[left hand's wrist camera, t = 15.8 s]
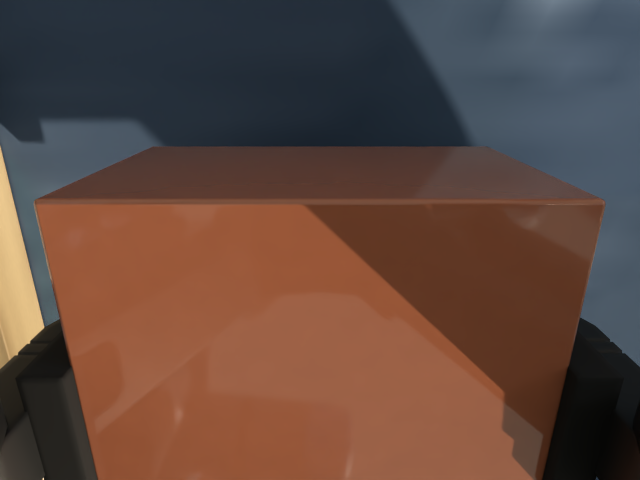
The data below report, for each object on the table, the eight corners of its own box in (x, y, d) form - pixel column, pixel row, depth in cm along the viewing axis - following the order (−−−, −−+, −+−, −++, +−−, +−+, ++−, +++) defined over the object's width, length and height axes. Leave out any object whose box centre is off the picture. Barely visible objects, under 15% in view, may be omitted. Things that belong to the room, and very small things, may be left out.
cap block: (489, 145, 11) (609, 199, 7) (454, 417, 14) (520, 587, 10) (150, 145, 11) (29, 199, 7) (185, 417, 14) (119, 587, 10)
